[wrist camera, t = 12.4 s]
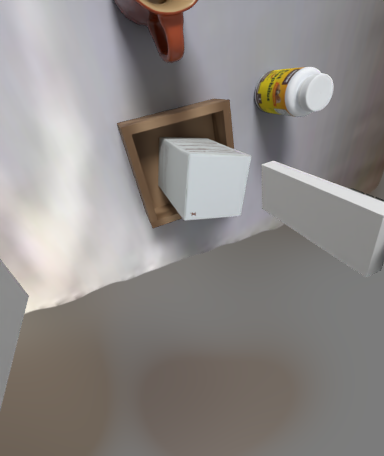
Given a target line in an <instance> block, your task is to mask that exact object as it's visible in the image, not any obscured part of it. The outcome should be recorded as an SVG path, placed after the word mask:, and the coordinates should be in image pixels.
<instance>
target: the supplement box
mask: <svg viewBox="0 0 384 456" xmlns="http://www.w3.org/2000/svg"><path fill="white" fill-rule="evenodd" d="M250 162H251V156H250V155H248V154H245V153H243V152H240V151H238V150H235V149H232V148H230V147H227V146H225V145H222V144H220V143H217V142H215V141H213V140H210V139H208V138H183V137H159V172H158V186H159V187H160V188H161V190H162V191H163V193H164V194H165V195H166V197H167V198H168V199H169V201H170V202H171V203H172V205H173V206H174V208H175V209H176V210H177V212H178V213H179V214H180V216H181V217H182V218H183V220H184V221H188V220H197V219H210V218H222V217H234V216H240V215H241V211H242V205H243V200H244V194H245V189H246V183H247V178H248V172H249V167H250Z"/></svg>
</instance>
